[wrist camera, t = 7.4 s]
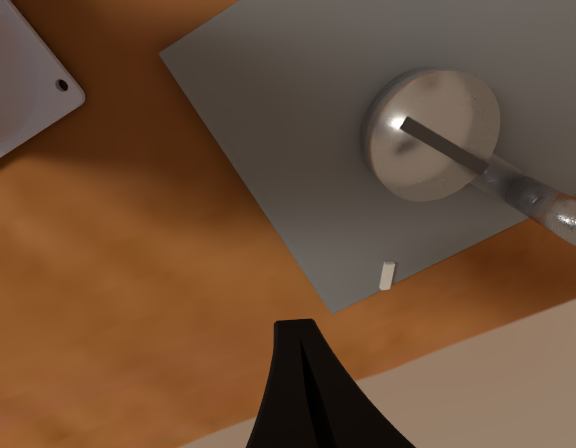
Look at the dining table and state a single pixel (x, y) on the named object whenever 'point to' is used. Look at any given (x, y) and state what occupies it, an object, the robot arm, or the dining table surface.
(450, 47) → the grey square mat
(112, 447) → the dining table surface
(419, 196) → the grey piece
